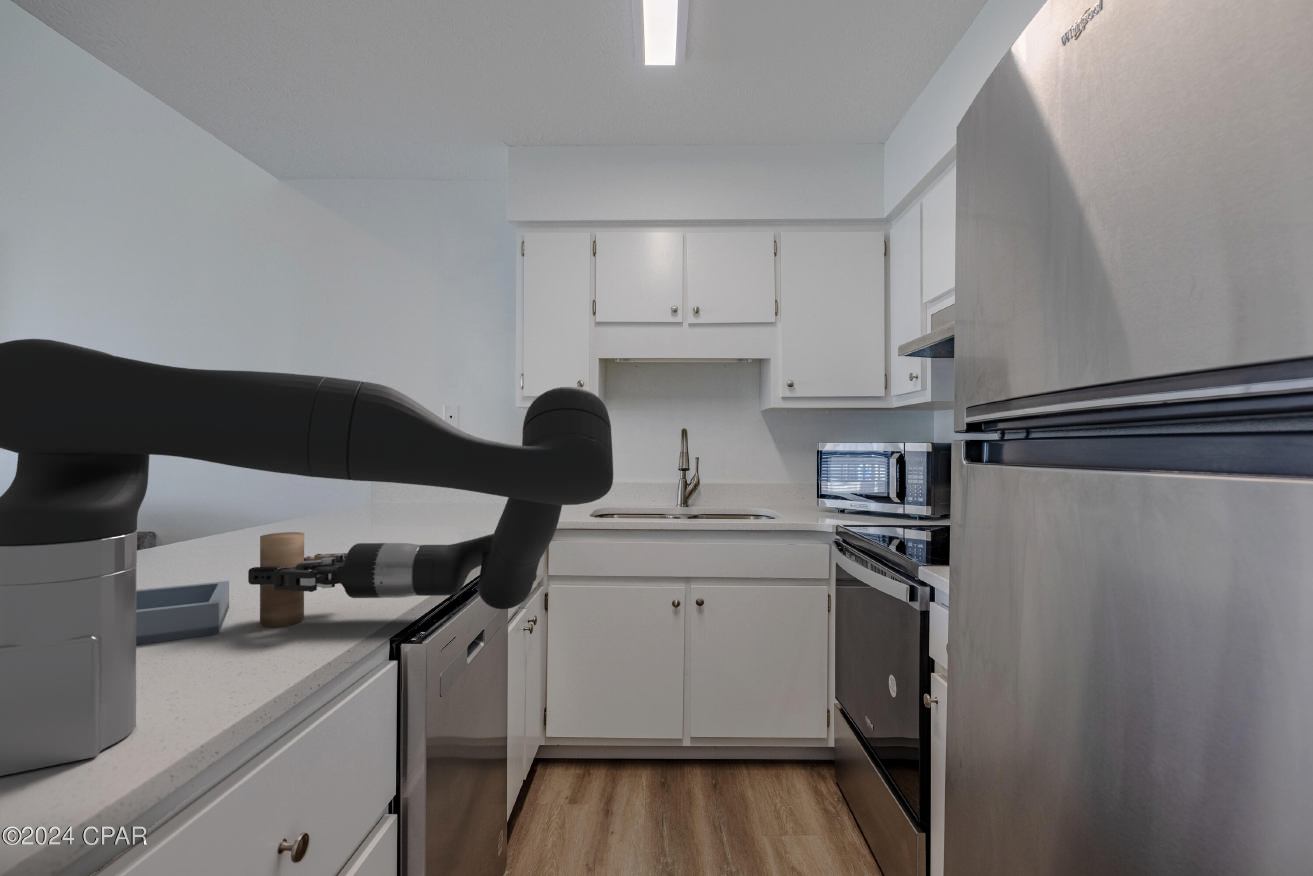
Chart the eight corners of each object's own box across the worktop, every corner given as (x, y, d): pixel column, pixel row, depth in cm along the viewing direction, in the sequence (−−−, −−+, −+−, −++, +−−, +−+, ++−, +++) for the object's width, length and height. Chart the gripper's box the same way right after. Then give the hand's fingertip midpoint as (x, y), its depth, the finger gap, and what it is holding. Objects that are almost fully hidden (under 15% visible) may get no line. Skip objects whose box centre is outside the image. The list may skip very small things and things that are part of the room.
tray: (218, 633, 78) (218, 602, 78) (72, 653, 71) (72, 619, 71) (229, 607, 90) (229, 580, 90) (105, 621, 83) (105, 592, 83)
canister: (304, 623, 83) (304, 536, 83) (258, 629, 80) (259, 539, 80) (303, 613, 87) (304, 531, 87) (260, 619, 85) (261, 534, 84)
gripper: (365, 611, 77) (228, 613, 76) (406, 584, 92) (291, 585, 91) (365, 553, 77) (228, 553, 76) (406, 535, 92) (291, 535, 91)
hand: (263, 570), depth 84 cm, fingers closed on canister, 5 cm apart
